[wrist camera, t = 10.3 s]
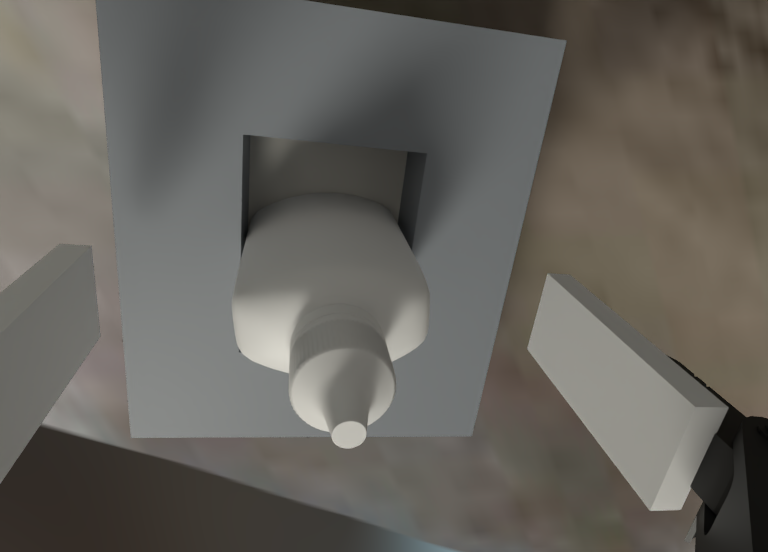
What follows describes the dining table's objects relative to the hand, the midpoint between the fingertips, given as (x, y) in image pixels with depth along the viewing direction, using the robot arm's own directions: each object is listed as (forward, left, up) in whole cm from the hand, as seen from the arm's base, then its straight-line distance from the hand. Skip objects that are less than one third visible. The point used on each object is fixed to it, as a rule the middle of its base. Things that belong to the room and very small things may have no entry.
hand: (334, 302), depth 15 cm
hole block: (0, 0, -8) cm, 8 cm away
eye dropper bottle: (0, 0, -7) cm, 7 cm away
